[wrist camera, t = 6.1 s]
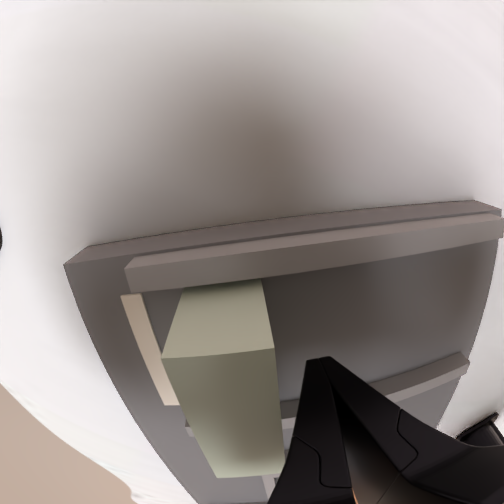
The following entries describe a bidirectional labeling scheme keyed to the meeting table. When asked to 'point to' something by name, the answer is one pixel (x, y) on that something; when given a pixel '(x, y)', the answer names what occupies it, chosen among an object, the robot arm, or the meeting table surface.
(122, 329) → the control board
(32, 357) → the meeting table surface
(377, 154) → the meeting table surface
